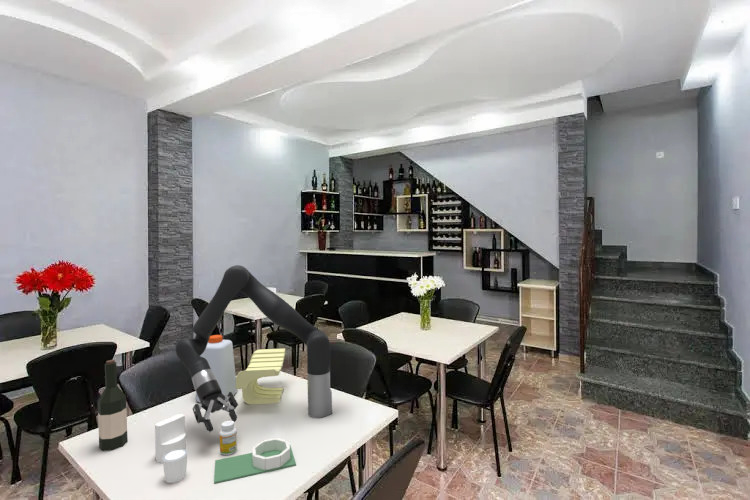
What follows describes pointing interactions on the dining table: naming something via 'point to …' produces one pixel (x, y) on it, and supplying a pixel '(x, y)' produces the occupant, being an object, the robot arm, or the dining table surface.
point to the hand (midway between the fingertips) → (223, 425)
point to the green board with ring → (255, 461)
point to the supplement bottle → (228, 438)
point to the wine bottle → (112, 412)
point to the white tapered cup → (175, 465)
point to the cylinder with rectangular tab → (170, 435)
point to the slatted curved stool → (261, 366)
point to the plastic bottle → (221, 363)
